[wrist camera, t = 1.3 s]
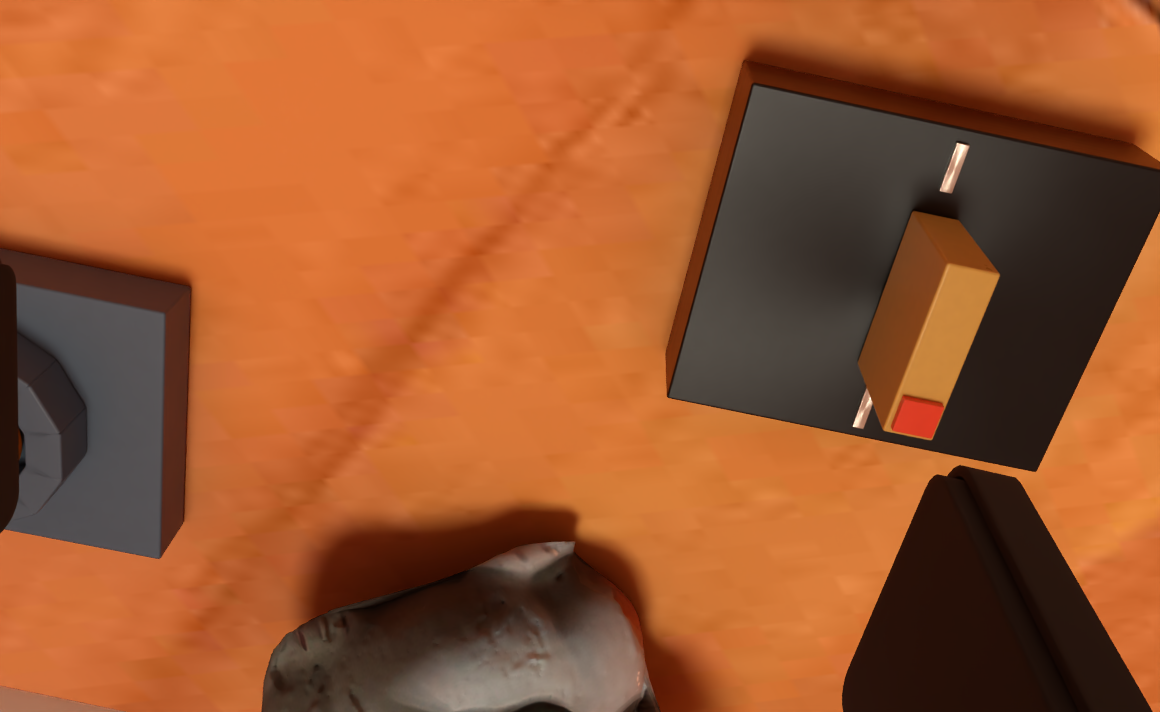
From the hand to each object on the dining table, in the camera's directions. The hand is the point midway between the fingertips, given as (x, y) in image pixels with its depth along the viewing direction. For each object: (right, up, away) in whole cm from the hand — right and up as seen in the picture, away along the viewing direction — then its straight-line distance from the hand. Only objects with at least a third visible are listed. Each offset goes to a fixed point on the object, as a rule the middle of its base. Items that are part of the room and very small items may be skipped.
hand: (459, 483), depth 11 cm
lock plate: (+11, +4, +23) cm, 26 cm away
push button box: (-19, 0, +27) cm, 33 cm away
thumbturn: (+11, +3, +20) cm, 23 cm away
